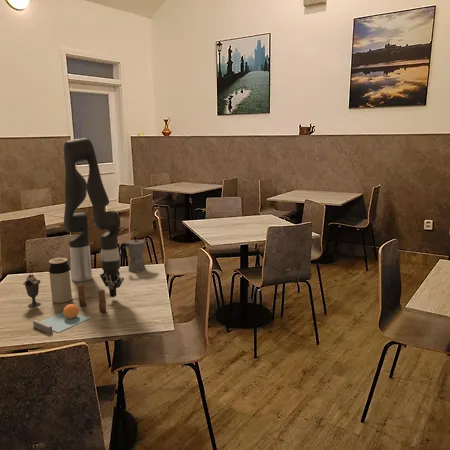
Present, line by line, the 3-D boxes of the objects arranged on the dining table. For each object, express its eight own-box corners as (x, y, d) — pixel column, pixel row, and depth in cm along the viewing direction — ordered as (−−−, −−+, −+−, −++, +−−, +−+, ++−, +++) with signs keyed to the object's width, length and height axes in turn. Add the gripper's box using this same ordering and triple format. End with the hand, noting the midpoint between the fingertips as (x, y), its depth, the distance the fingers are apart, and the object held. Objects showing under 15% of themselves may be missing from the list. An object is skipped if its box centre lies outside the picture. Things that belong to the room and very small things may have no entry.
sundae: (37, 300, 182) (34, 267, 179) (45, 304, 178) (42, 270, 174) (22, 305, 177) (18, 271, 174) (30, 309, 173) (26, 274, 169)
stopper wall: (33, 326, 157) (32, 320, 156) (36, 325, 158) (35, 319, 157) (49, 333, 151) (48, 327, 151) (52, 332, 152) (51, 326, 152)
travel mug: (65, 304, 178) (61, 263, 174) (48, 302, 179) (44, 262, 176) (75, 296, 185) (71, 257, 182) (59, 295, 187) (55, 257, 183)
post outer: (98, 312, 169) (96, 291, 167) (103, 310, 171) (101, 289, 169) (102, 313, 168) (100, 292, 166) (107, 311, 170) (106, 290, 168)
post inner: (78, 305, 176) (76, 285, 174) (83, 303, 178) (81, 283, 176) (82, 306, 175) (80, 286, 173) (87, 304, 177) (85, 284, 175)
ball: (73, 307, 168) (65, 319, 165) (66, 300, 165) (57, 312, 161) (83, 310, 166) (75, 322, 163) (76, 302, 162) (68, 315, 159)
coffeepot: (143, 264, 230) (142, 232, 226) (152, 269, 222) (150, 236, 219) (117, 270, 220) (115, 237, 216) (125, 275, 213) (123, 241, 209)
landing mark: (35, 323, 160) (35, 323, 160) (67, 310, 171) (67, 310, 171) (58, 332, 152) (58, 332, 152) (89, 318, 163) (89, 318, 163)
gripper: (92, 257, 178) (96, 296, 182) (114, 262, 171) (117, 302, 175) (106, 253, 184) (109, 290, 188) (127, 258, 177) (130, 296, 181)
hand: (113, 296), depth 181 cm, fingers closed
